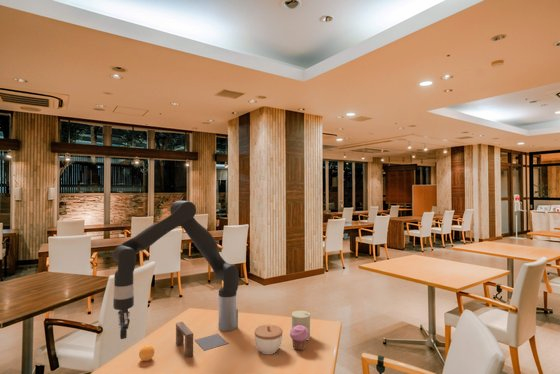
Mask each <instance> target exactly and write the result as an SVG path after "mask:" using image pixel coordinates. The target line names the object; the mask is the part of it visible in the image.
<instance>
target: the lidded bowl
mask: <svg viewBox="0 0 560 374" xmlns="http://www.w3.org/2000/svg"><path fill="white" fill-rule="evenodd" d="M283 333H284V332H283V329H282V327H280V326H278V325H276V324H263V325H259V326H257V327H256V328H255V329H254V342H255V345H256V348H257V349H258V350H259V352H260V353H261V352H262V353H261V354H263V355H266V354H271V355H274V354H275V352H277V351H278V350H279V349H280V348H281V345H282V342H283ZM273 353H274V354H273Z"/></svg>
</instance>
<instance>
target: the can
mask: <svg viewBox="0 0 560 374" xmlns="http://www.w3.org/2000/svg"><path fill="white" fill-rule="evenodd" d="M297 325H302V326H305V327H306V328H307V329H308V331H309V337H308V338H307V339H309V338H310V339H311V313H310V312H309V311H306V310H294V311H292V312H291V329H292V328H293V327H295V326H297ZM310 339H309V340H310Z"/></svg>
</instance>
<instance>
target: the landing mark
mask: <svg viewBox="0 0 560 374" xmlns="http://www.w3.org/2000/svg"><path fill="white" fill-rule="evenodd" d="M194 341H195V342H196V343H197V345H198V346H199V347H200V348H201V349H202V350H203V351H209V350H211V349H214V348H217V347H221V346H225V345H228V344H229V342H228V341H227V340H226V339H225V338H223V337H222V335H220V333H216V334H211V335H208V336H204V337H201V338H196V339H195V340H194Z"/></svg>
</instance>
